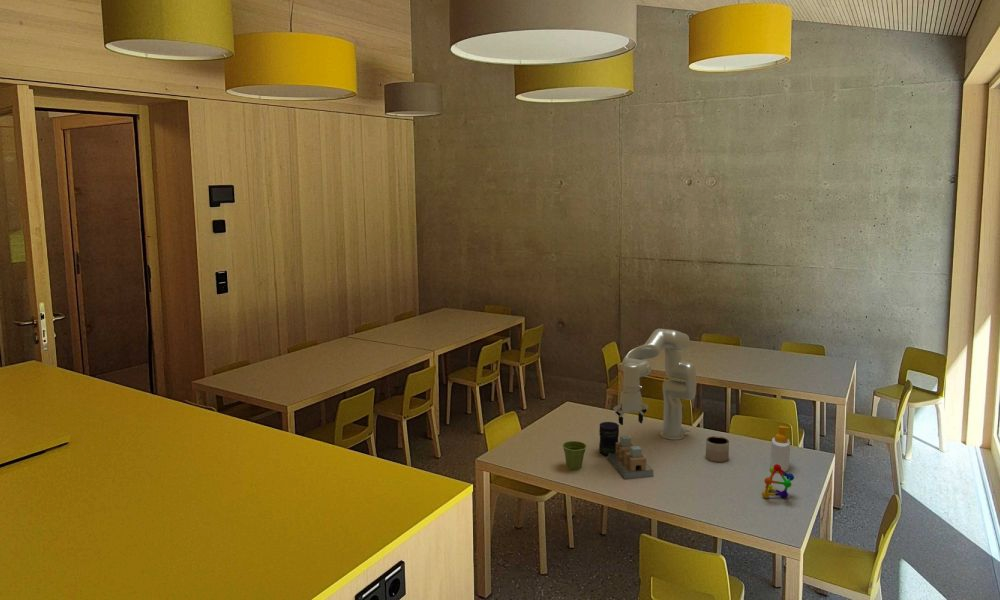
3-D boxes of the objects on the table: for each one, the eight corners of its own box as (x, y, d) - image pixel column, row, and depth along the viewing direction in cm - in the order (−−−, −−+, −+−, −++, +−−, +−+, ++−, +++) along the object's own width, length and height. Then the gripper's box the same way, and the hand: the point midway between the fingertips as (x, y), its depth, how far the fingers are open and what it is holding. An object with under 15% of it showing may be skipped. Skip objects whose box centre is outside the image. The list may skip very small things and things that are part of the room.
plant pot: (571, 474, 327) (571, 451, 325) (557, 465, 337) (557, 443, 335) (591, 469, 332) (591, 447, 330) (577, 460, 343) (577, 439, 341)
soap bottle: (789, 473, 324) (791, 432, 320) (770, 471, 326) (772, 430, 323) (788, 462, 336) (790, 423, 332) (770, 460, 339) (772, 421, 335)
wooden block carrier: (615, 452, 343) (615, 442, 342) (628, 451, 344) (629, 441, 343) (631, 471, 322) (631, 459, 321) (645, 469, 323) (646, 458, 322)
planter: (729, 456, 345) (730, 437, 343) (727, 464, 335) (727, 445, 334) (707, 452, 350) (708, 434, 348) (704, 460, 340) (704, 442, 338)
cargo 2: (638, 453, 328) (638, 445, 327) (641, 457, 324) (641, 449, 323) (630, 454, 327) (630, 446, 326) (633, 457, 323) (633, 449, 322)
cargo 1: (627, 443, 341) (627, 435, 341) (630, 446, 337) (630, 438, 337) (620, 443, 341) (620, 436, 340) (622, 446, 337) (623, 439, 336)
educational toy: (794, 506, 294) (796, 475, 290) (761, 502, 298) (763, 471, 294) (792, 488, 308) (794, 457, 304) (761, 484, 312) (762, 454, 308)
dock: (634, 456, 346) (634, 450, 346) (653, 476, 323) (653, 470, 323) (607, 458, 344) (607, 452, 343) (624, 479, 321) (624, 472, 320)
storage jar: (618, 457, 345) (618, 429, 343) (598, 456, 347) (598, 428, 345) (618, 449, 355) (619, 422, 352) (599, 448, 357) (599, 421, 354)
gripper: (645, 385, 332) (644, 419, 335) (611, 388, 329) (610, 422, 332) (651, 390, 325) (650, 424, 328) (616, 392, 322) (616, 427, 325)
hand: (630, 423), depth 330 cm, fingers open, 9 cm apart
